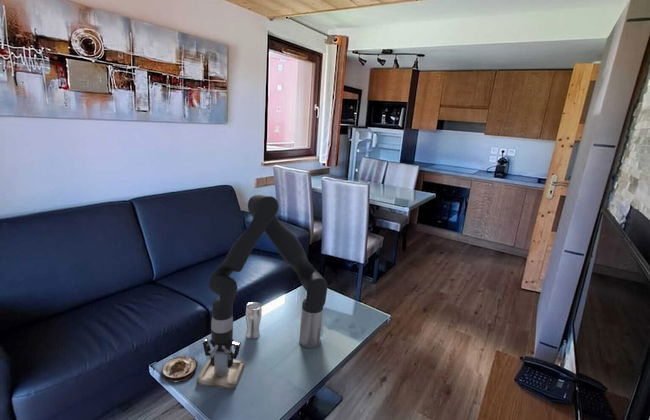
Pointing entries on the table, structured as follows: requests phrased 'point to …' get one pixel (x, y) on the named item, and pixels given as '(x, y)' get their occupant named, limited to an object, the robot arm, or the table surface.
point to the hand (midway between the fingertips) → (221, 365)
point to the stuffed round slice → (179, 368)
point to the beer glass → (253, 319)
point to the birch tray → (224, 381)
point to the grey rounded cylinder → (220, 363)
